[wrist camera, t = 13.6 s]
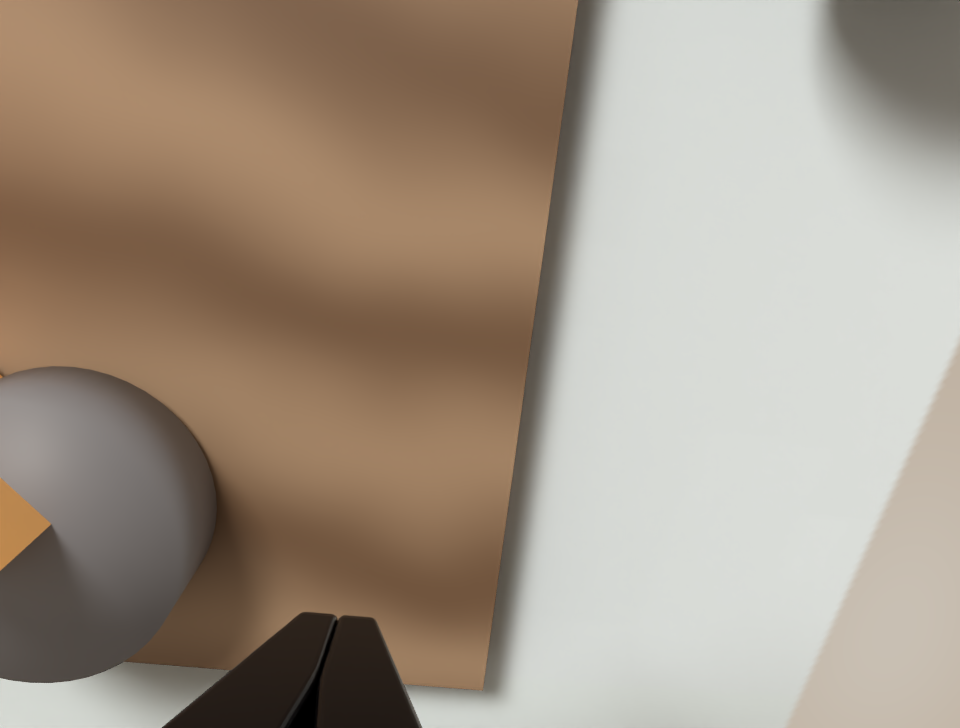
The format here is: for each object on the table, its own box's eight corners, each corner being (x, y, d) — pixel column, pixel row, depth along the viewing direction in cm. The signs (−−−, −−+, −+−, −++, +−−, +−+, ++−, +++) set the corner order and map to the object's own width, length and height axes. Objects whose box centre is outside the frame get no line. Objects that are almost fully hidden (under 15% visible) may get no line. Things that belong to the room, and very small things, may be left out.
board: (481, 656, 23) (482, 692, 21) (-283, 592, 21) (-340, 626, 20) (594, -180, 17) (608, -214, 15) (-455, -333, 16) (-555, -386, 14)
